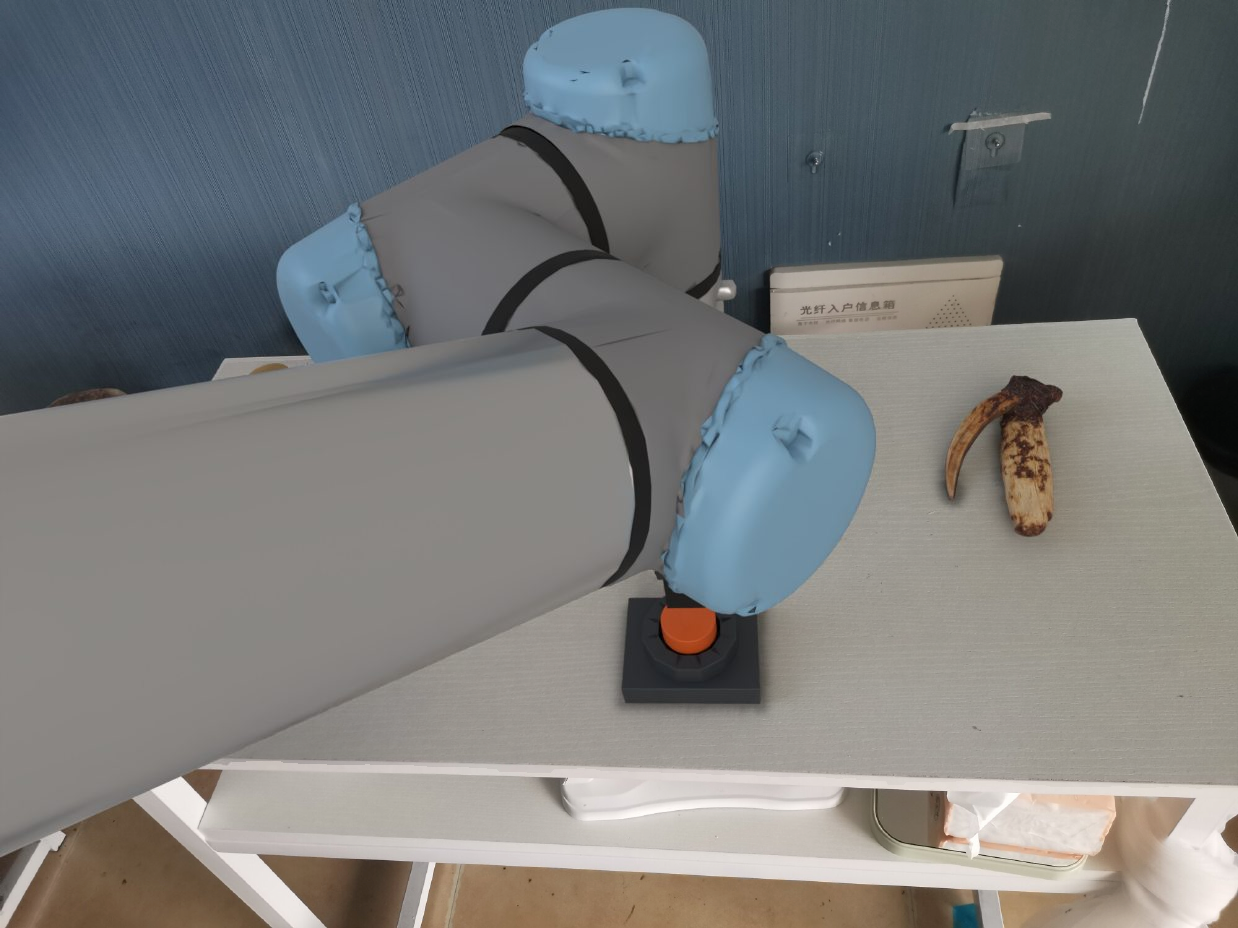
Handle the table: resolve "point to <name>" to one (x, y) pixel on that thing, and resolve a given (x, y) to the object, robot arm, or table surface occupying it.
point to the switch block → (689, 661)
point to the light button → (688, 629)
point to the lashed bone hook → (1014, 450)
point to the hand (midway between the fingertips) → (686, 599)
